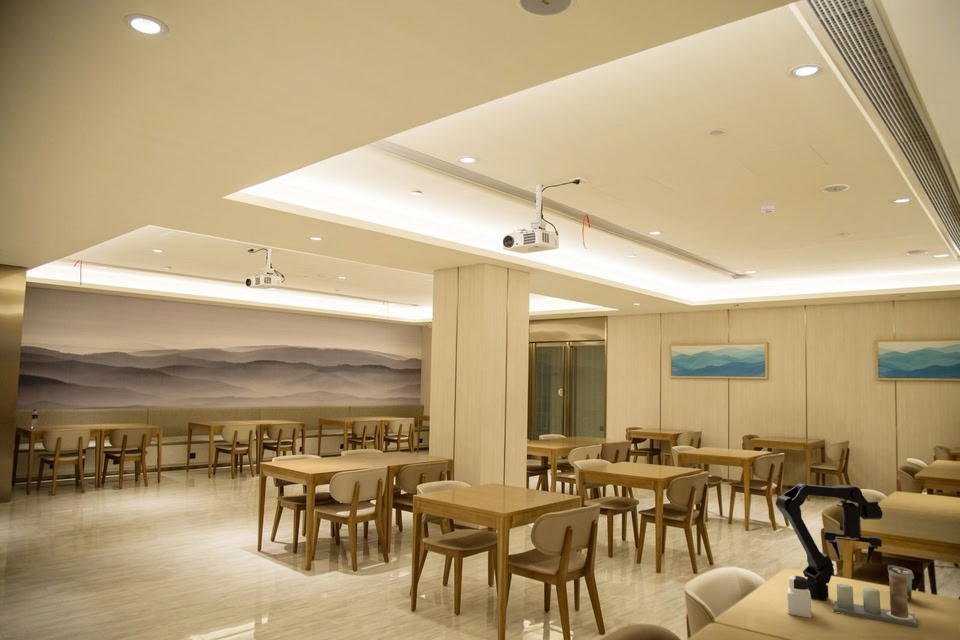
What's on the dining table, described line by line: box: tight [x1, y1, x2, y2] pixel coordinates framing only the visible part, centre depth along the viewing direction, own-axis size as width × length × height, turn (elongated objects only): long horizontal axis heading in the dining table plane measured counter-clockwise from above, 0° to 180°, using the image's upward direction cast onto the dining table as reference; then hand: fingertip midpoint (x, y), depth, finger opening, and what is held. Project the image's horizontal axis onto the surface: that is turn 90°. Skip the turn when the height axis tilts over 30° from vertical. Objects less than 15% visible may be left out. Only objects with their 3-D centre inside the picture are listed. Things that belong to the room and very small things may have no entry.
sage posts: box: [836, 583, 881, 614], centre depth 222 cm, size 13×5×7 cm, turn 58°
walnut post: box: [888, 573, 909, 618], centre depth 216 cm, size 5×5×13 cm
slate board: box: [832, 600, 918, 628], centre depth 219 cm, size 24×10×1 cm, turn 58°
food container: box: [887, 564, 915, 601], centre depth 240 cm, size 12×6×10 cm, turn 168°
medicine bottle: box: [786, 575, 813, 618], centre depth 220 cm, size 7×7×12 cm
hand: (853, 561), depth 239 cm, fingers open, 9 cm apart
